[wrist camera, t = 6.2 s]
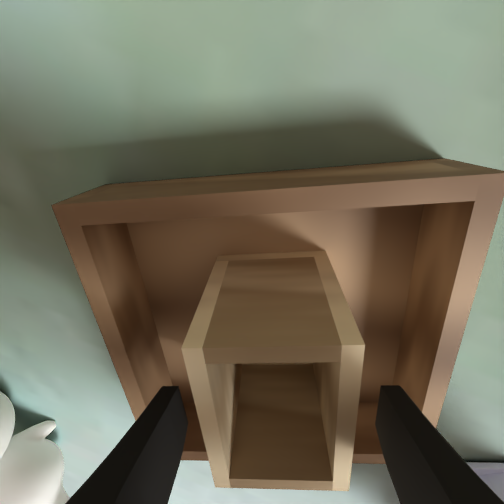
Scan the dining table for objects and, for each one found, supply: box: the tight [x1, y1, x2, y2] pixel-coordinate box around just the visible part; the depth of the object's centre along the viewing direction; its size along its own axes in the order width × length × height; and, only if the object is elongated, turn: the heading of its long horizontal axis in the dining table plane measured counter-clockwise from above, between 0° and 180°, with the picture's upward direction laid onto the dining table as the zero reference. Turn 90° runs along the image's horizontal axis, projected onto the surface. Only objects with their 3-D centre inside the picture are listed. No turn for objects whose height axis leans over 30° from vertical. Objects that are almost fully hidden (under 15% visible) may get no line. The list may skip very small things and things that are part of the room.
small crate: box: [181, 250, 365, 491], centre depth 12 cm, size 7×5×6 cm
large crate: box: [51, 158, 504, 464], centre depth 14 cm, size 15×15×4 cm
